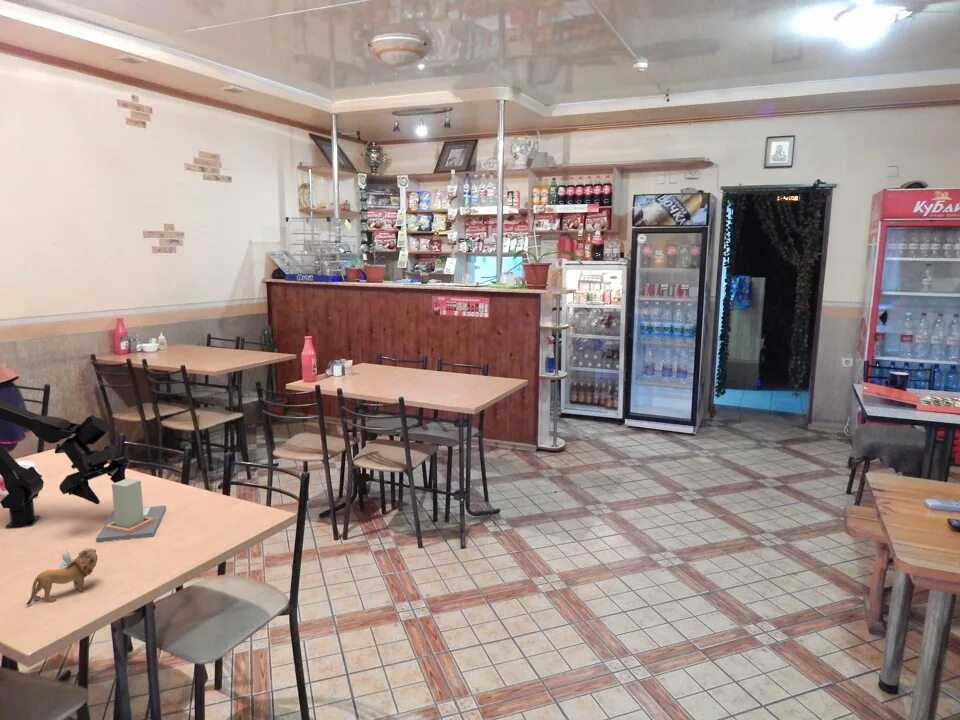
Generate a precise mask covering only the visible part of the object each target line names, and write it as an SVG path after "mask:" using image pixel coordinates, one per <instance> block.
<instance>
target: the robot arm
mask: <svg viewBox="0 0 960 720" xmlns="http://www.w3.org/2000/svg"><path fill="white" fill-rule="evenodd" d="M0 420H2V421H5V422H7V423H10V424H13V425H15V426H18V427H20V428H23V429H26V430H29V431H30V432H32V434H34V436H35V437H37V438H38V439H39V440H42V441H44V442H45V443H47V444H56V447H55V449H54V454H65V455H66V457H67V458H68V459H69V461H71V463H72V465H71V466H70V467H71V469H72V470H75V469H76V470H77V472H74V473H71V474H68V475H66V476H65V477H64V479H63V480H62V482H60V484H59V486H58V487H59V491H60V493H61V494H63V495H67V494H68V495H69V496H71V495H73V496H76V497H79V498H81V499H84V500H86V501H89V502H91V503H93V504H94V505H95V504H96V505H99V504H100V502H101V501H100V499H99V497H98V496H97V494H96V493H95V492H94V491H93V489H92V488H91V487H90V484H89V481H90V480H93V479H96V478H98V477H101V476H104V475H107V476H109V477H110V478H109V480H110V481H111V482H113V484H114V483H116V482H119V481H122V480H124V479H126V469H127V468H128V467H129V465H130V464H131V461H130V459H128V458H127V457H126V456H121V457H118V458H115V457H116V456H115V455H117V454H118V452H119V451H118V449H117V448H116V446H115V445H114V444H113V443H111V444H110V445H107V446H104V448H103V449H102V450H99V451H98V450H96V449H93V450H92V448H91V447H90V445H96V444H97V443H98V442H99V441H100V440H102V439H103V438H104V437H105V436H106V435H108V434H109V433H110V432H111V426H110V424H109V423H108V421H106V420H104V419H102V418H100V417H95V416H94V415H93V414H91V415H90V416H88V417H86V418H85V420H84V421H83V422H81V423H76V422H71V421H70V420H68V419H65V418H63V417H58V416H47V415H41V414H37V413H35V412H32V411H31V410H30V411H29V410H27V409H25V408H22V407H19V406H16V405H14V404H11V403H8V402H5V401H3V400H1V399H0ZM62 440H64V441H62ZM61 441H62V443H59V442H61ZM111 459H112V461H111V462H110V463H109V462H108V460H109V461H110V460H111ZM108 463H109V464H108ZM107 464H108V466H105V465H107ZM0 476H1V478H2V479H3V484H4V488H5V490H6V492H7V494H6V496H5V497H4V498H2V500H0V505H1V507H2V509H8V512H9V519H10V521H9V522H8V523H7V524H6V525H5V529H8V528H9V529H10V528H19V527H20V528H21V527H30V526H33V525H34V524H35V523H36V522H37V521H38V520H39V518H40V517H41V515H36V514H35V507H34V506H35V505H34V499H35V498H38V497H39V494H40V492H41V491H42V490H43V488H44V480H43V478H42V477H43V475H42V474H40V473H38V471H37V469H36V468H35V467H34V466H29V467H28V468H26V467H23V466H22V465H20V464H19V463H18V461H16V459H14V457H12V456H11V455H10V453H8V451H7V450H6V449H5V448H4V447H3V445H1V444H0Z"/></svg>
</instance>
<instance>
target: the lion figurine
mask: <svg viewBox="0 0 960 720" xmlns="http://www.w3.org/2000/svg"><path fill="white" fill-rule="evenodd" d="M73 559H74V561H73V562H72V563H70V565H69V566H64V567H65V568H61V569H60V568H57V569H47V570H44V571H42V572H40V573H38V574H37V575H36V577H35V578H34V581H33V583H32V586H31V592H30V593H31V594H30V598H29V600H27V603H26V604H25V605H26V606H28V605H30V604H31V603H32V602H33V601H39V600H40V599H41V595H38V593H39V592H41V591H42V590H43V591H44V593H43V597H44V598H46V600H47V601H49V602H50V603H51V602H52V603H53V602H55V601H56V600H57V598H56V597H55V596H54V597H52V596H51V590H52V588H53V584H57V585H64V584H68V583H71V582H73V588H74V589H77V588H78V589H77V590H79V591H80V592H81V593H84V591H85V592H86V591H87V588H86V587H84V585H85V578H86V577H88V576H90V575H92V573H93V572H94V569H95V568H96V565H97V562H98V554H97V550H96V549H95V548H88V547H87V548H84V549H83V550H81V551H79V552H78V555H77V557H76V558H73Z"/></svg>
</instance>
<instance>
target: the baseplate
mask: <svg viewBox="0 0 960 720" xmlns="http://www.w3.org/2000/svg"><path fill="white" fill-rule="evenodd" d="M166 510H167V506H166V505H156V506H145V507H144V506H143V516H144V517H150V518H154V523H152V524H150V525H148V526H146V527H144V528H141V529H139V530H137V531H135V532H133V533H131V534H129V535H128V534H123V533H118V532H113V531H108V530H105V526H106V525H108V524H110V523H112V522H114V521H115V515H114V511H113V512H112V513H111V515H110V516H109V518H108V519H107V521H106V522H105V524H104V525H103V527H102V529H101V530H100V531H99V533H98V534H97V536H96V537H95V543H96V542H98V543H105V542H104V541H108V542H114V541H113V540H117V541H120V540H119V539H126V540H132V539H131V538H135V539H142V538H143V537H144V538H152V537H153V536H154V537H155V534H156V532H157V531H158V528H159V525H160V523H161V521H162V519H163V516H164V514H165V512H166ZM144 538H143V539H144Z"/></svg>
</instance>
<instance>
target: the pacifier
mask: <svg viewBox="0 0 960 720" xmlns="http://www.w3.org/2000/svg"><path fill="white" fill-rule="evenodd" d="M74 559H75V558H72V557H71V555H70V553H69V551H68V550H64V551H63V552H62V560H63V562H61V563H60V566H59V569H61V568H65V567H67V566H69V565H70V563H72V562H73V561H74Z"/></svg>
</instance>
